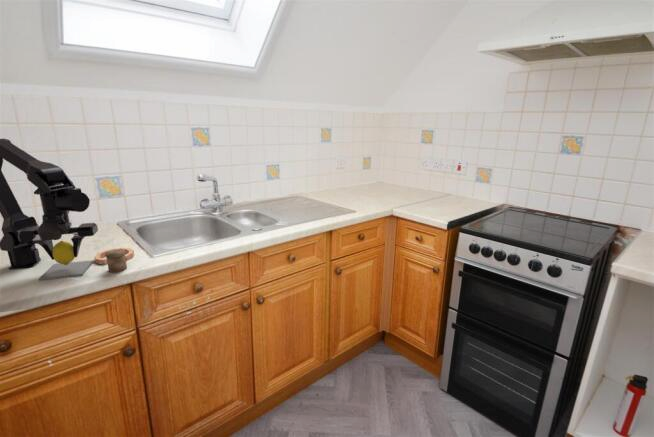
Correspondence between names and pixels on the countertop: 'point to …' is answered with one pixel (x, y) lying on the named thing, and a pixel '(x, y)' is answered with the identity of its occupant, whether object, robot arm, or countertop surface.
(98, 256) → the c ring
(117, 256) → the walnut salt pot
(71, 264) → the slate coaster
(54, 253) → the lemon
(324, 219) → the countertop surface
